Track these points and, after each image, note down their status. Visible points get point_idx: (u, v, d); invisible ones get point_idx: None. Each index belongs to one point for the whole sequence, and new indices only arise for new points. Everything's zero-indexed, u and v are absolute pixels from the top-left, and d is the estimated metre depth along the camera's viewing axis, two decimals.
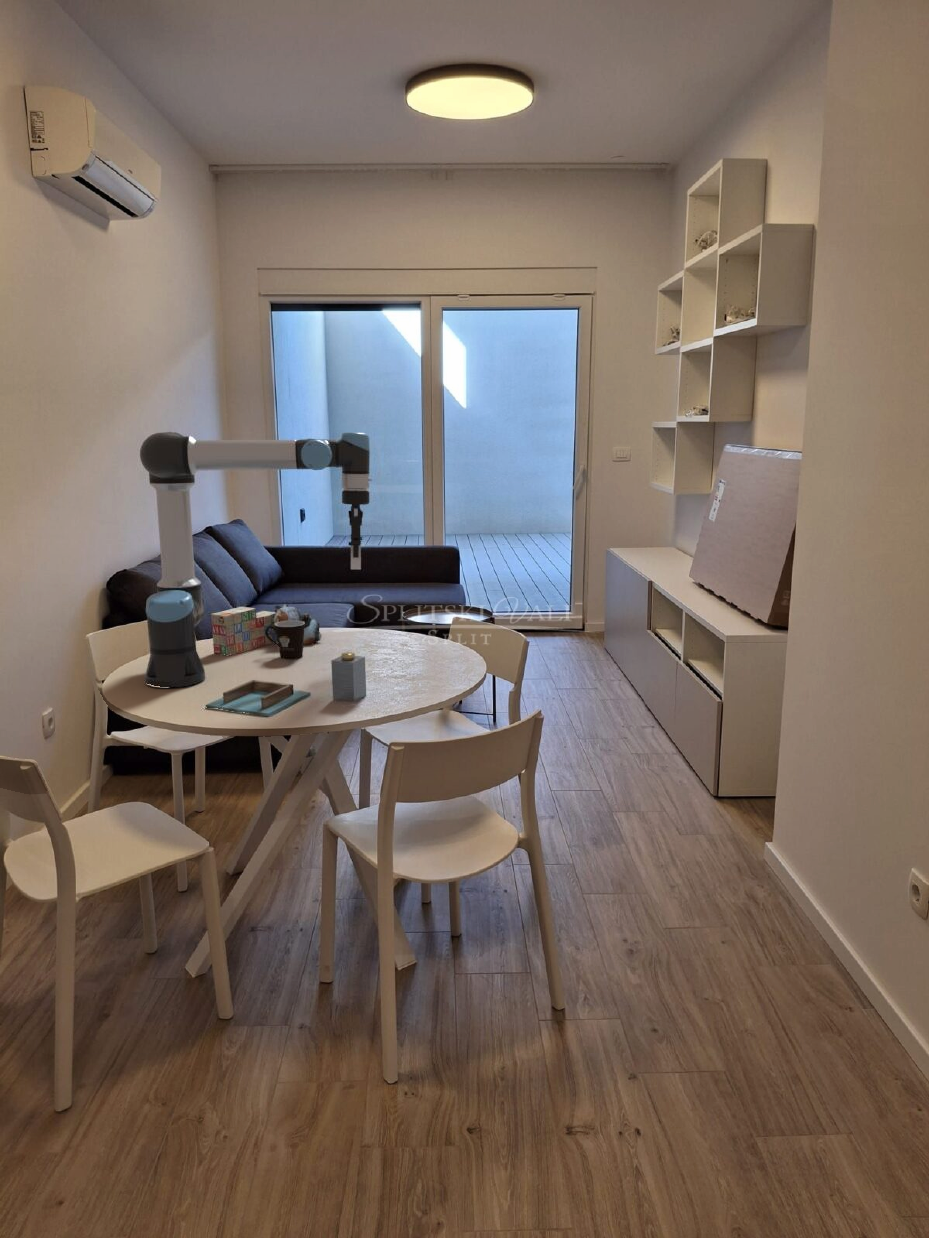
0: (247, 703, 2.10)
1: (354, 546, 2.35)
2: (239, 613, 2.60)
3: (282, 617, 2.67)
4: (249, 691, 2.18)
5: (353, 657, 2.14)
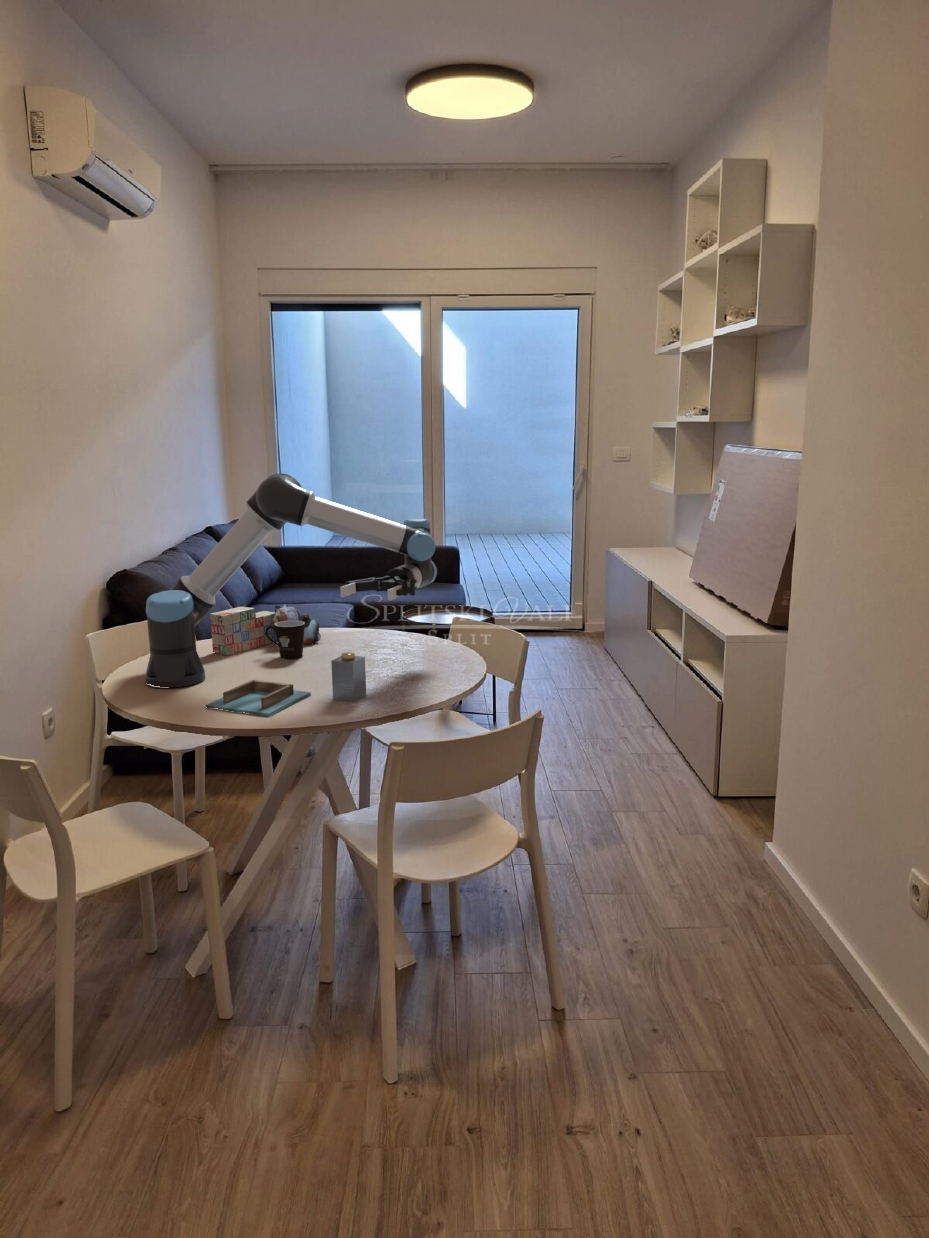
0: (247, 703, 2.10)
1: (406, 589, 2.23)
2: (238, 613, 2.60)
3: (281, 617, 2.67)
4: (249, 691, 2.18)
5: (353, 657, 2.14)
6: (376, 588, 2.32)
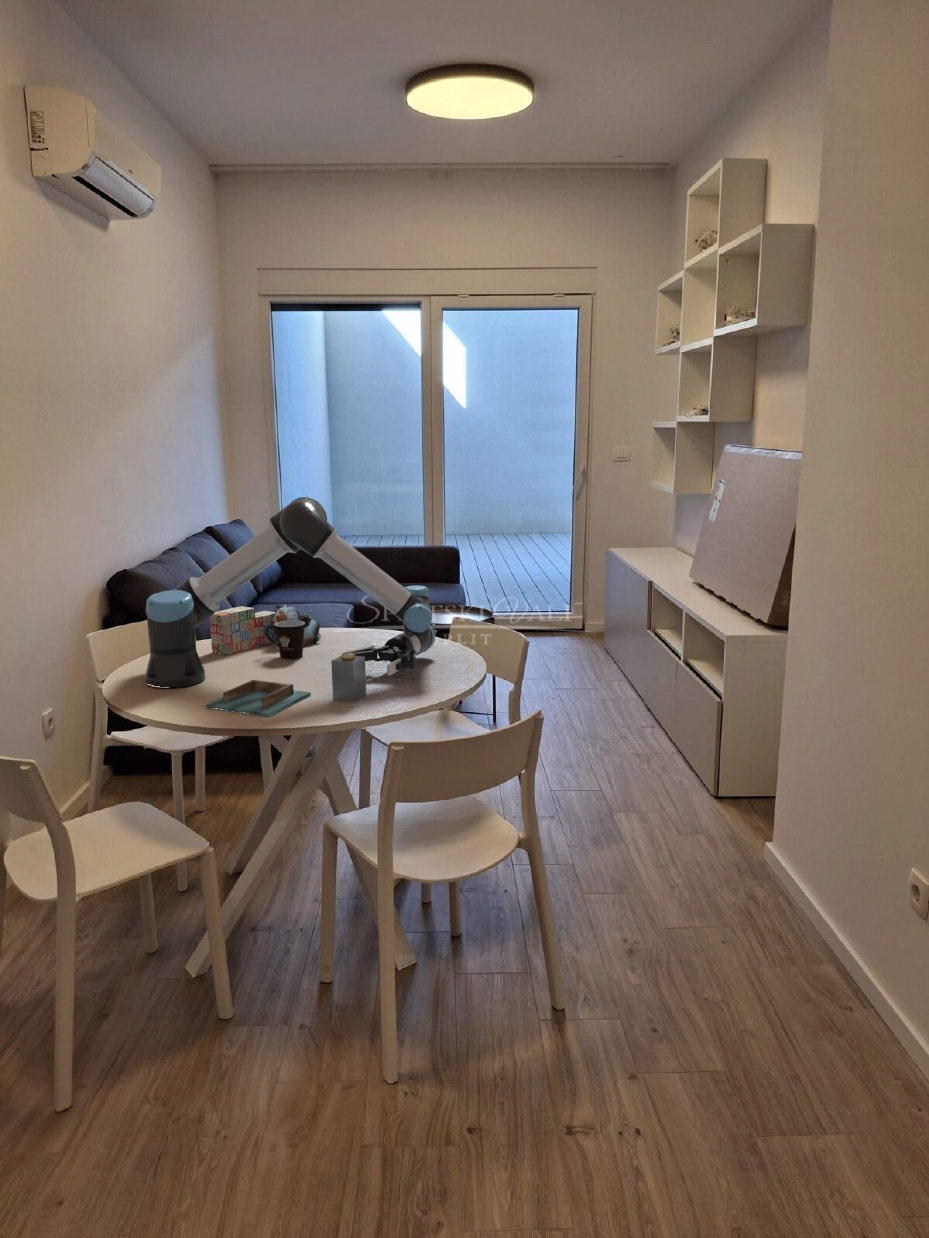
0: (247, 703, 2.10)
1: (405, 663, 2.25)
2: (237, 612, 2.60)
3: (281, 617, 2.67)
4: (249, 691, 2.18)
5: (353, 657, 2.14)
6: (375, 658, 2.34)
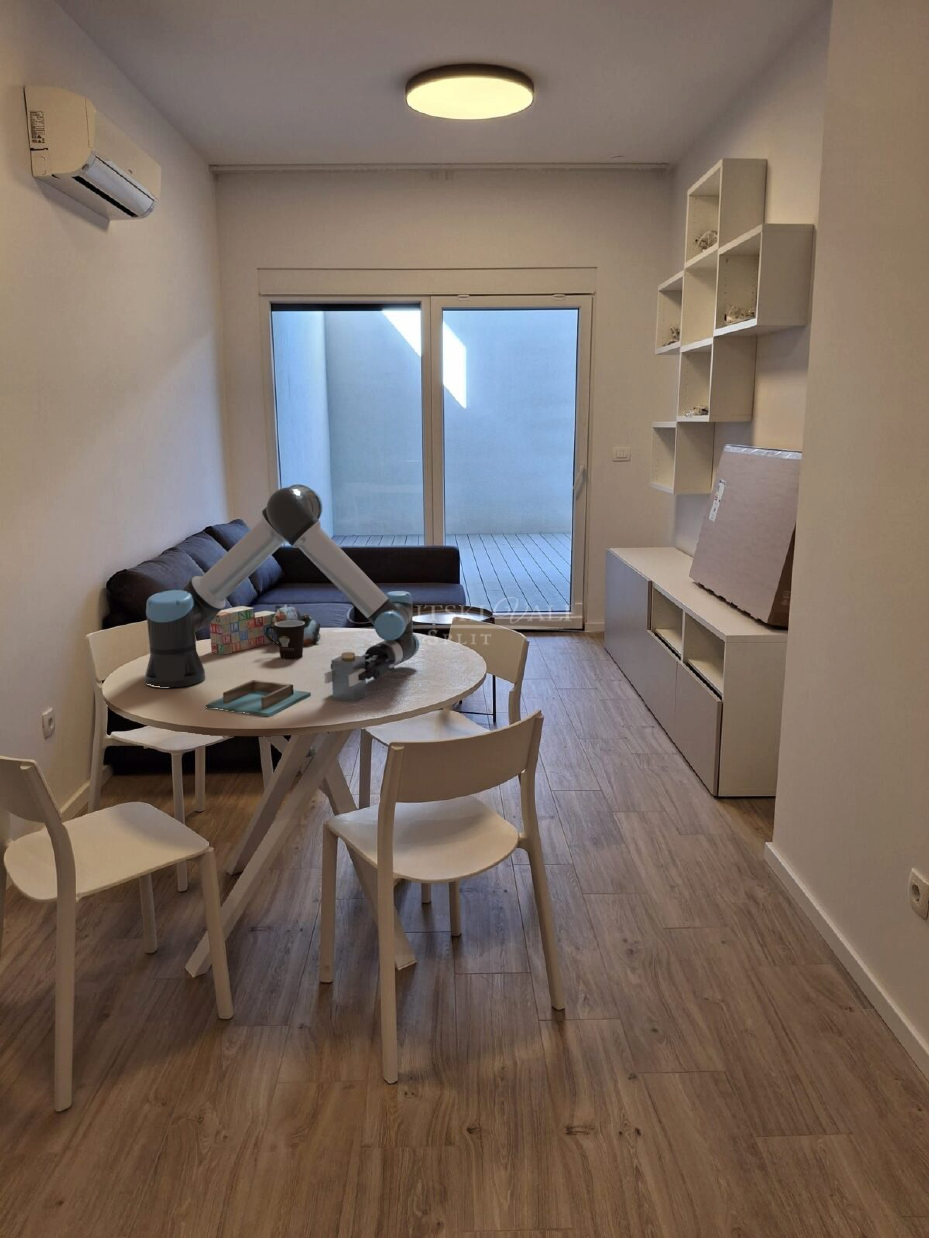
0: (247, 703, 2.10)
1: (368, 673, 2.15)
2: (236, 612, 2.61)
3: (280, 617, 2.67)
4: (249, 691, 2.18)
5: (353, 657, 2.14)
6: None
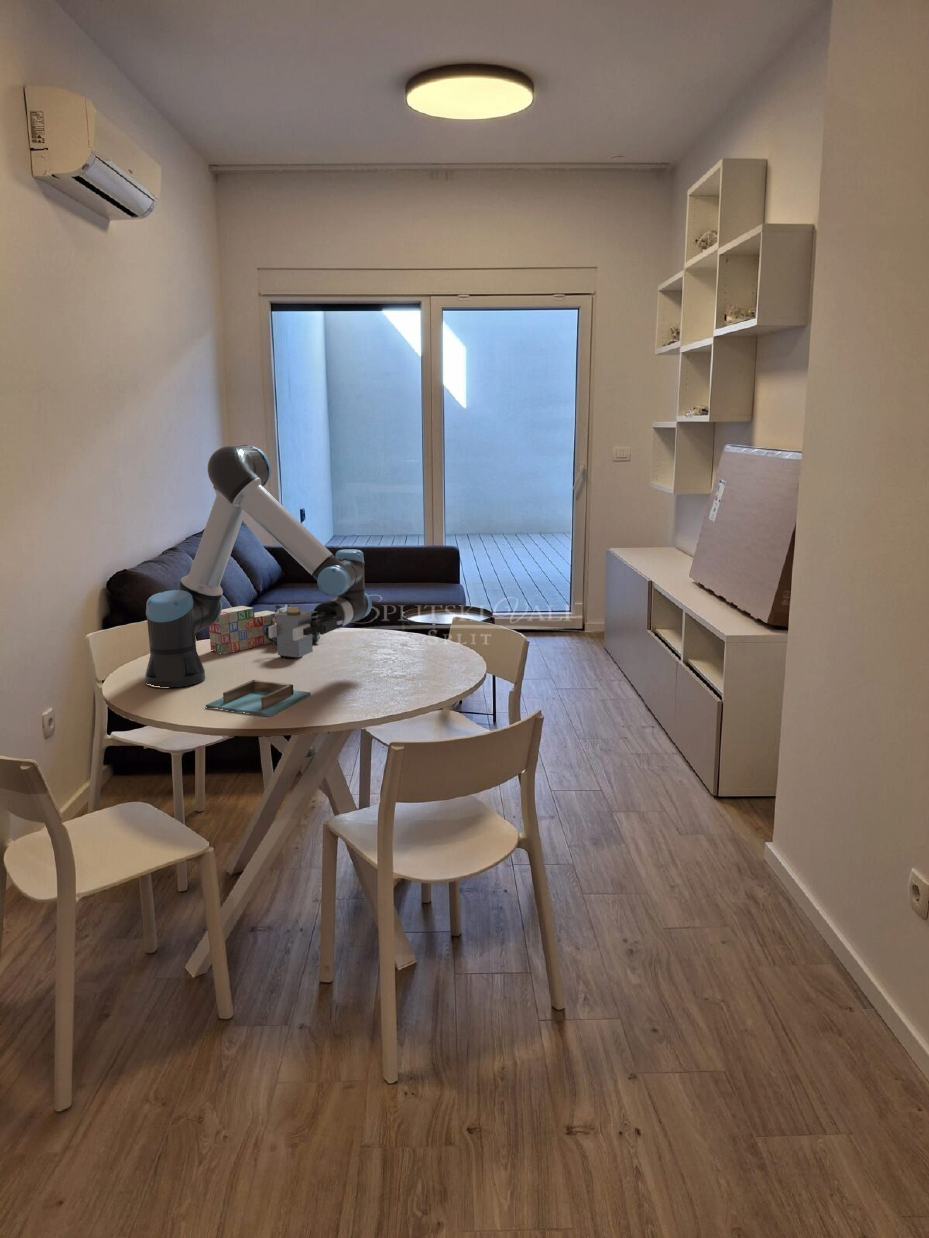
0: (247, 703, 2.10)
1: (314, 628, 2.10)
2: (235, 612, 2.61)
3: None
4: (249, 691, 2.18)
5: (298, 611, 2.09)
6: None
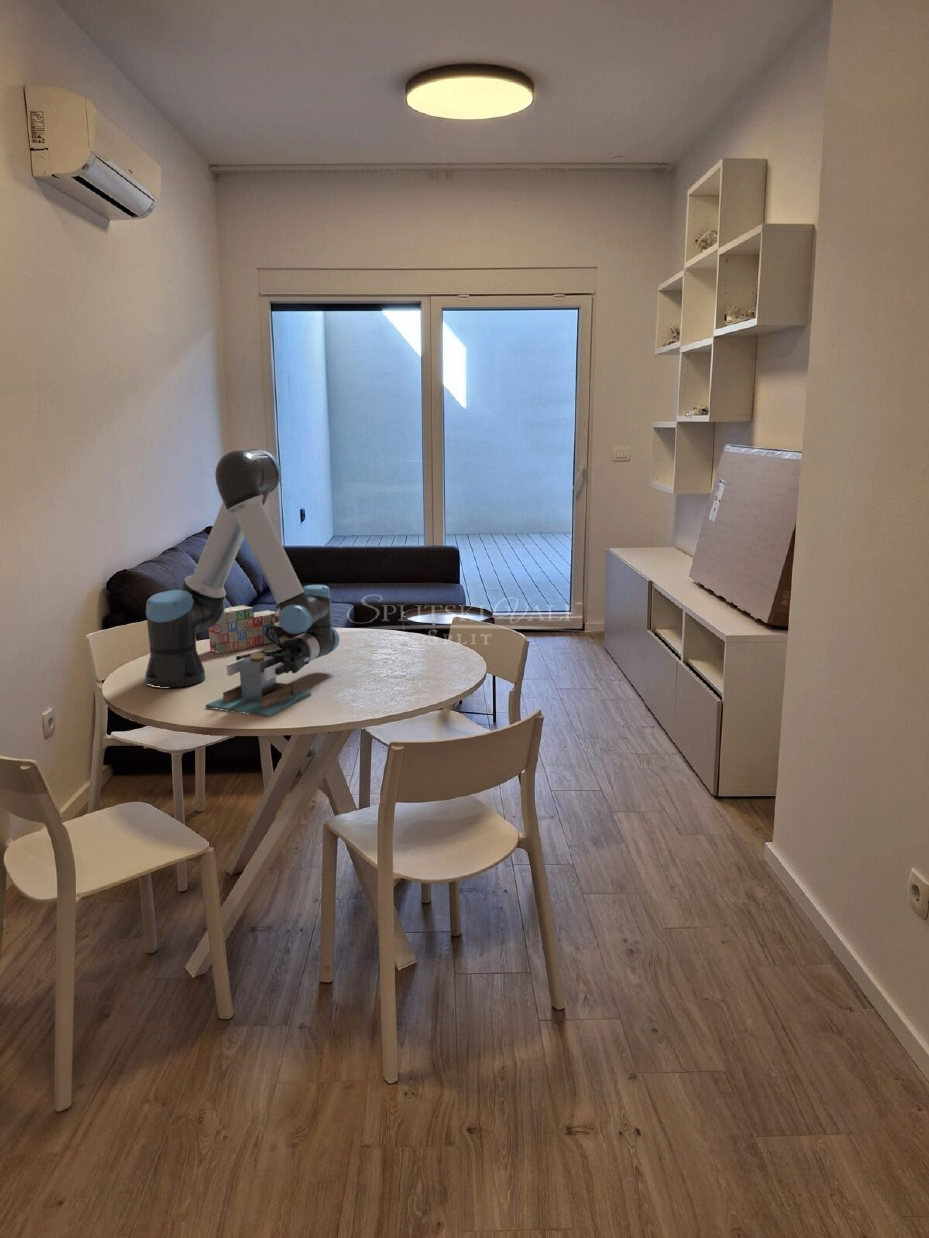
0: (247, 703, 2.10)
1: (286, 667, 2.12)
2: (234, 612, 2.62)
3: None
4: None
5: (261, 657, 2.11)
6: None
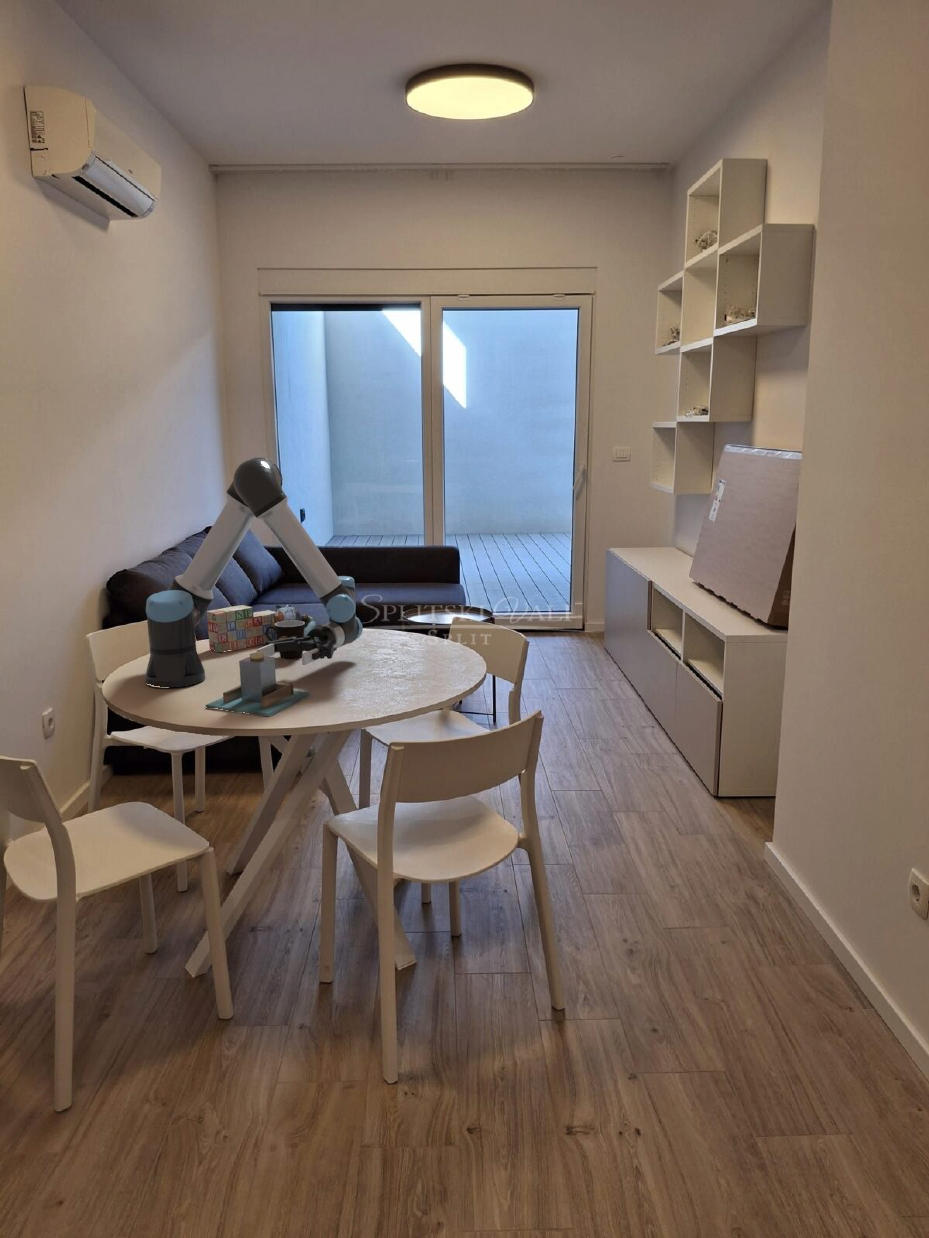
0: (247, 703, 2.10)
1: (322, 652, 2.24)
2: (233, 611, 2.62)
3: (278, 617, 2.67)
4: None
5: (261, 657, 2.11)
6: (296, 648, 2.33)
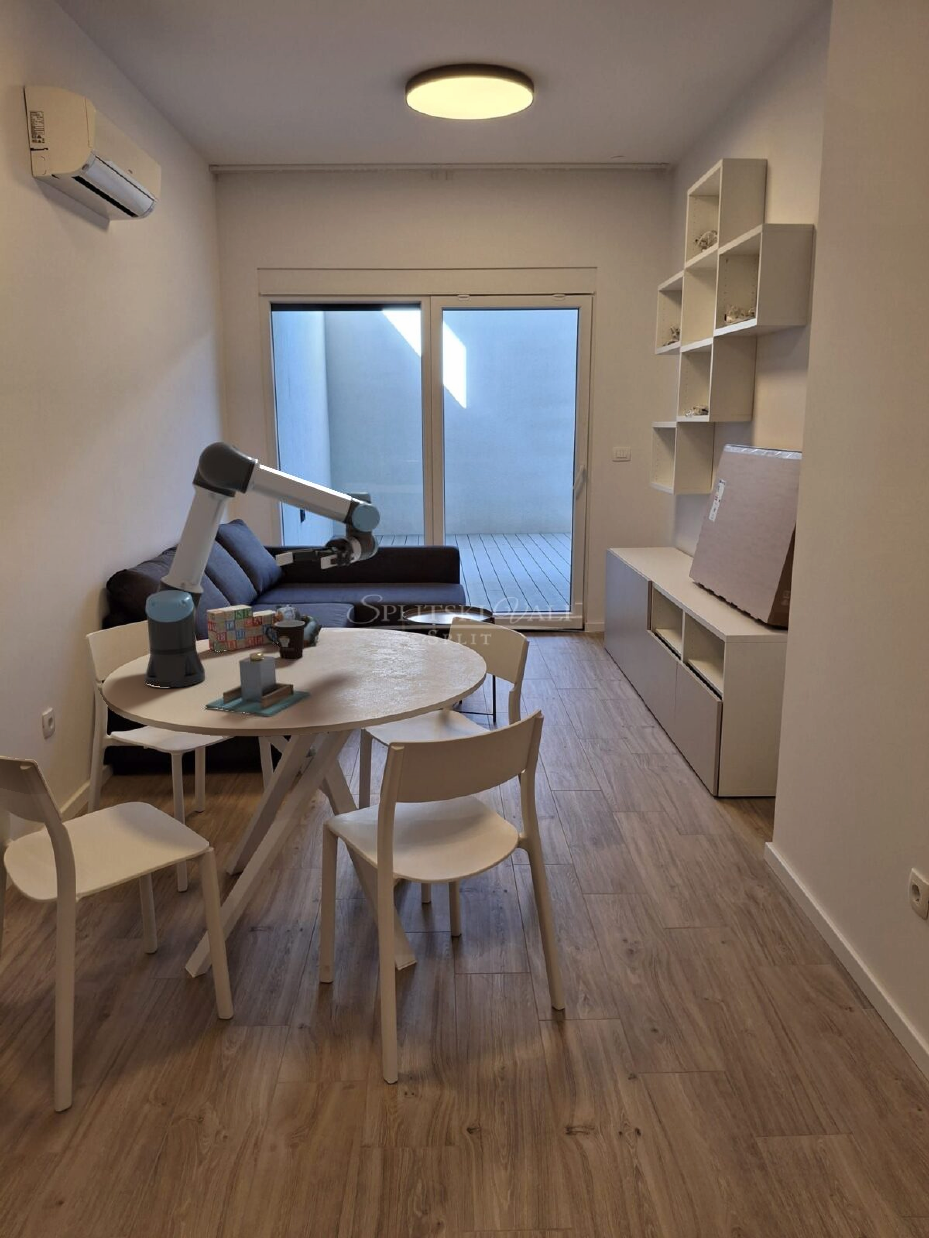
0: (247, 703, 2.10)
1: (340, 558, 2.26)
2: (232, 611, 2.63)
3: (278, 617, 2.67)
4: None
5: (261, 657, 2.11)
6: (314, 558, 2.35)
